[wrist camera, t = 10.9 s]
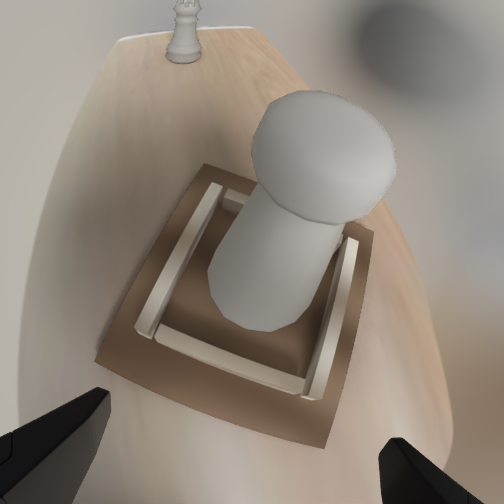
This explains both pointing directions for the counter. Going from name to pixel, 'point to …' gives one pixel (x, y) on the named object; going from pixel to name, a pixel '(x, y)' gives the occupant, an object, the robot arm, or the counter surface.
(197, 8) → the rook chess piece
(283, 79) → the counter surface
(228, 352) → the collar board
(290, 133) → the salt shaker
